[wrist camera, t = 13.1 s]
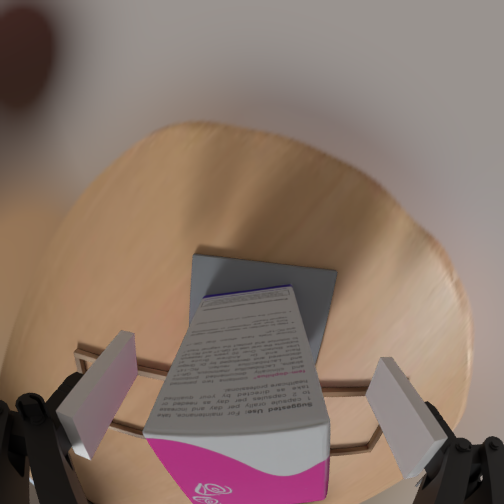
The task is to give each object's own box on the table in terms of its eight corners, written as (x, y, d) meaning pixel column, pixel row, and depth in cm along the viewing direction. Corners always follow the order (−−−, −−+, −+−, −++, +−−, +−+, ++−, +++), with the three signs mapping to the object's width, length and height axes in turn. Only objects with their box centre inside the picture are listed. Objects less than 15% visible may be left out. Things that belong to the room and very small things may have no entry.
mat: (188, 370, 20) (188, 373, 19) (194, 253, 18) (192, 254, 17) (308, 382, 20) (308, 385, 19) (335, 270, 18) (337, 272, 17)
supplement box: (199, 294, 18) (135, 431, 7) (292, 281, 17) (344, 417, 6) (217, 368, 19) (192, 510, 8) (301, 358, 19) (335, 499, 8)
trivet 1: (95, 419, 21) (92, 423, 21) (76, 348, 19) (73, 352, 19) (179, 442, 22) (178, 446, 21) (176, 373, 20) (174, 377, 19)
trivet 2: (284, 453, 22) (285, 457, 21) (306, 387, 20) (307, 392, 19) (369, 448, 22) (370, 452, 21) (403, 384, 20) (406, 388, 19)
